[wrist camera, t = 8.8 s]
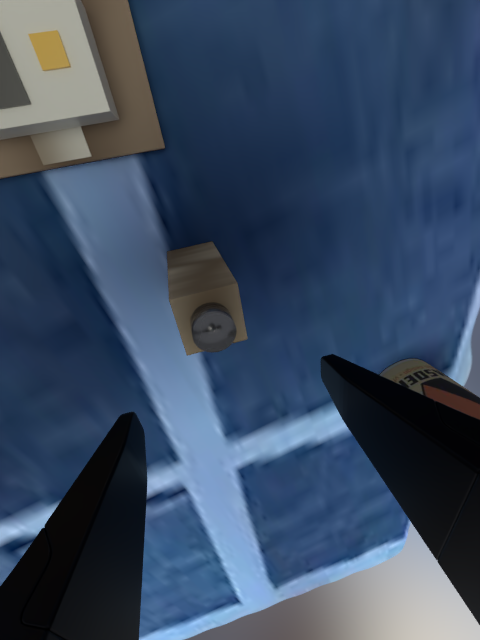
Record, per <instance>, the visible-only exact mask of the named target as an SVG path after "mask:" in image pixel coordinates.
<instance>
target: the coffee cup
mask: <svg viewBox="0 0 480 640" xmlns="http://www.w3.org/2000/svg"><path fill="white" fill-rule="evenodd" d="M380 376H383V377H385V378H387V379H389V380H391V381H394V382H396V383H398V384H400V385H402V386H405V387H407V388H409V389H411V390H413V391H416V392H418V393H420V394H422V395H424V396H427V397H429V398H431V399H433V400H434V401H438V402H440V403H442V404H445V405H447V406H449V407H451V408H454V409H456V410H458V411H461V412H463V413H465V414H468V415H470V416H472V417H475V418H477V419H480V398H479V397H478V396H476V395H475V394H473V393H472V392H470V391H469V390H467V389H466V388H464V387H463V386H461V385H460V384H458V383H457V382H455V381H454V380H452V379H451V378H449V377H448V376H446V375H445V374H443V373H442V372H440V371H438V370H437V369H435V368H434V367H432V366H431V365H429V364H428V363H426V362H424V361H422V360H419V359H405V360H402V361H399V362H397V363H395V364H393V365H391V366H389V367H388V368H386V369H385V370H384V371H383V372H382V373H381V374H380Z"/></svg>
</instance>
